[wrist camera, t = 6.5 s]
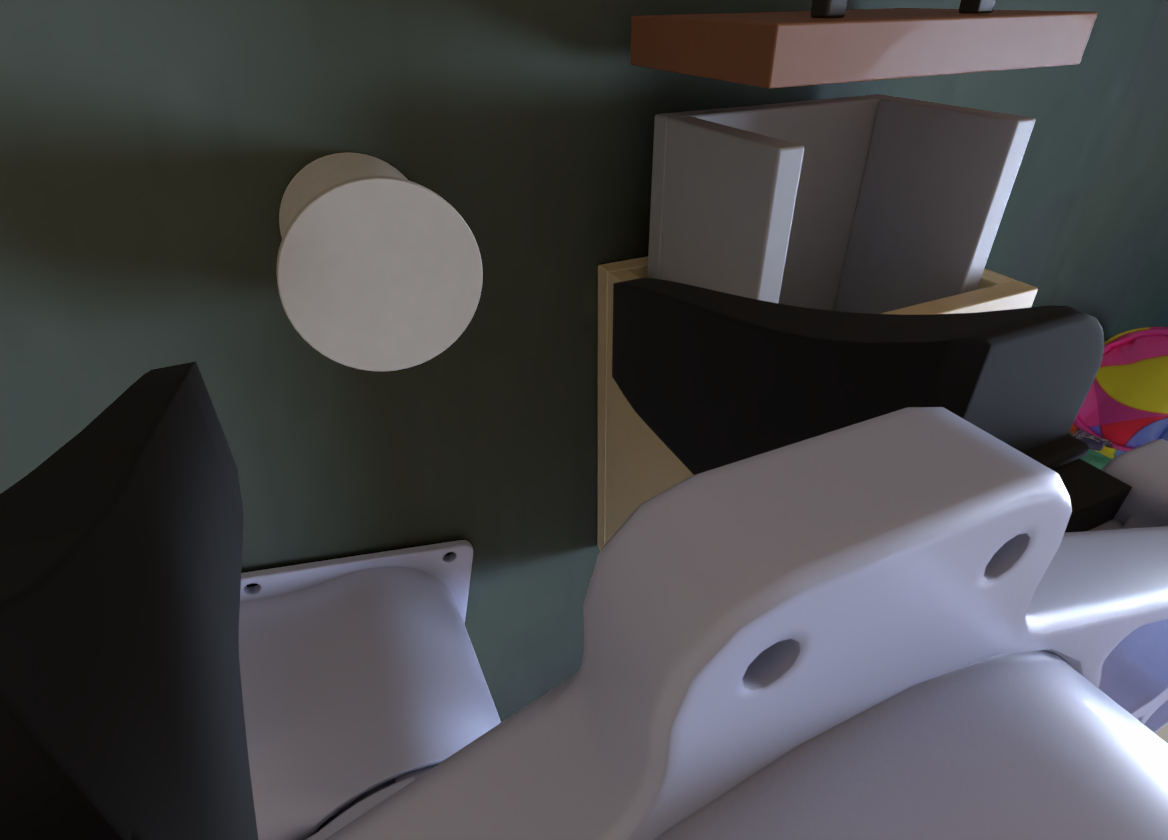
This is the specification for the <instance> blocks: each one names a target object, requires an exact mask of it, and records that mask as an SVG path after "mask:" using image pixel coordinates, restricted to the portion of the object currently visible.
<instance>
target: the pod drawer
mask: <svg viewBox="0 0 1168 840" xmlns="http://www.w3.org/2000/svg"><path fill="white" fill-rule="evenodd" d="M995 1H996V0H961V3H960V7H959V9H923V8H894V9H859V10H846V8H847V3H848V0H813V1H812V8H811V11H788V12H753V13H717V14H682V15H646V16H633V17H632V22H631V61H630V63H631V65H635V66H641V67H647V68H653V69H659V70H664V71H670V72H676V73H682V74H688V75H693V76H699V77H705V78H711V79H717V80H722V81H728V82H734V83H740V84H746V85H751V86H757V87H763V88H782V87H795V86H807V85H820V84H833V83H846V82H858V81H871V80H884V79H896V78H909V77H922V76H935V75H947V74H960V73H973V72H985V71H998V70H1011V69H1024V68H1036V67H1049V66H1062V65H1074V64H1079V63H1080V60H1081V58H1082V55H1083V52H1084V49H1085V47H1086V44H1087V41H1088V39H1089V36H1090V33H1091V30H1092V28H1093V25H1094V22H1095V19H1096V17H1097V12H1078V11H1026V10H993V8H994V5H995ZM1034 123H1035V119H1034V118H1031V117H1025V116H1018V115H1012V114H1005V113H999V112H992V111H985V110H979V109H972V108H966V107H959V106H953V105H946V104H939V103H933V102H926V101H920V100H913V99H907V98H900V97H893V96H886V95H880V94H877V95H866V96H855V97H843V98H832V99H821V100H810V101H798V102H787V103H776V104H765V105H754V106H742V107H731V108H720V109H709V110H697V111H686V112H675V113H664V114H657V115H655V122H654V144H653V166H652V187H651V209H650V231H649V253H648V274H647V278H653V279H661V280H667V281H673V282H678V283H683V284H688V285H692V286H697V287H702V288H706V289H710V290H715V291H719V292H724V293H728V294H733V295H737V296H742V297H747V298H752V299H757V300H762V301H768V302H773V303H779V304H784V305H790V306H797V307H804V308H812V309H821V310H830V311H840V312H852V313H870V314H880V313H885V312H889V311H893V310H897V309H901V308H905V307H909V306H913V305H917V304H921V303H925V302H929V301H934V300H938V299H942V298H946V297H950V296H954V295H958V294H962V293H966V292H970V291H974V290H977V287H978V285H979V282H980V279H981V276H982V273H983V270H984V267H985V264H986V262H987V259H988V256H989V253H990V250H991V247H992V244H993V241H994V238H995V236H996V233H997V230H998V227H999V224H1000V221H1001V218H1002V215H1003V212H1004V210H1005V207H1006V204H1007V201H1008V198H1009V195H1010V192H1011V189H1012V186H1013V184H1014V181H1015V178H1016V175H1017V172H1018V169H1019V166H1020V163H1021V161H1022V158H1023V155H1024V152H1025V149H1026V146H1027V143H1028V140H1029V137H1030V135H1031V132H1032V129H1033V126H1034Z"/></svg>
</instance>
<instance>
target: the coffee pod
mask: <svg viewBox="0 0 1168 840" xmlns="http://www.w3.org/2000/svg"><path fill="white" fill-rule="evenodd" d="M279 226H280V233H281V237H282V241H281V244H280V247H279V251H278V257H277V268H276V276H277V285H278V291H279V295H280V299H281V302H282V306H283V308H284V310H285V312H286V315H287V317H288V319H289V320H290V322H291V323H292V325H293V327H294V328H295V329H296V331H297V332H298V333H299V334H300V336H301V337H302V338H303V339H304V340H305V341H306V342H307V343H308V344H309V345H310V346H311V347H313V348H314V349H315V350H317V351H318V352H320V353H321V354H322V355H324V356H326V357H328V358H329V359H331V360H333V361H335V362H338V363H340V364H343V365H345V366H348V367H352V368H356V369H360V370H367V371H395V370H401V369H406V368H410V367H413V366H416V365H419V364H421V363H424V362H426V361H428V360H430V359H432V358H434V357H435V356H437V355H439V354H440V353H442V352H443V351H444V350H446V349H447V348H448V347H450V346H451V345H452V344H453V343H454V342H455V341H456V340H457V339H458V338H459V337H460V335H461V334H462V333H463V332H464V330H465V329H466V328H467V326H468V324H469V323H470V321H471V320H472V318H473V315H474V313H475V311H476V309H477V306H478V303H479V299H480V296H481V290H482V282H483V269H482V260H481V255H480V251H479V248H478V245H477V242H476V240H475V237H474V235H473V233H472V231H471V230H470V228H469V226H468V225H467V223H466V222H465V220H464V219H463V218H462V216H461V215H460V214H459V213H458V212H457V211H456V210H455V209H454V208H453V207H452V206H451V205H450V204H449V203H448V202H447V201H446V200H444V199H443V198H442V197H441V196H439V195H438V194H436V193H435V192H433V191H431V190H430V189H428V188H426V187H424V186H422V185H420V184H417V183H415V182H412V181H409V180H408V179H407V178H406V177H405V176H404V175H403V174H402V173H400V172H399V171H398V170H397V169H396V168H394V167H393V166H391V165H390V164H388V163H386V162H384V161H382V160H380V159H378V158H376V157H372V156H369V155H366V154H360V153H349V152H346V153H336V154H331V155H327V156H324V157H321V158H319V159H316V160H315V161H313V162H311V163H309V164H308V165H306V166H305V167H304V168H302V169H301V170H300V171H299V172H298V173H297V174H296V175H295V176H294V178H293V179H292V180H291V182H290V183H289V184H288V186H287V188H286V190H285V192H284V195H283V198H282V201H281V205H280V211H279Z"/></svg>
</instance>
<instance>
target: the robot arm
mask: <svg viewBox="0 0 1168 840" xmlns="http://www.w3.org/2000/svg"><path fill="white" fill-rule="evenodd" d="M1103 352H1104V333H1103V329H1102V327H1101V325H1100V323H1099V321H1098V320H1097V318H1095V317H1093V316H1091V315H1088V314H1086V313H1083V312H1081V311H1078V310H1076V309H1074V308H1071V307H1068V306H1041V307H1031V308H1020V309H1010V310H999V311H989V312H977V313H956V314H925V315H899V314H870V313H852V312H840V311H830V310H821V309H812V308H804V307H797V306H790V305H784V304H779V303H773V302H768V301H762V300H757V299H752V298H747V297H742V296H737V295H733V294H728V293H724V292H719V291H715V290H710V289H706V288H702V287H697V286H692V285H688V284H683V283H678V282H673V281H667V280H661V279H653V278H639V279H633V280H628V281H623V282H617V283H613V342H612V377H613V379H614V380H615V382H616V384H617V385H618V387H619V388H620V390H621V392H622V393H623V395H624V396H625V398H626V399H627V401H628V402H629V403H630V405H631V406H632V408H633V409H634V411H635V412H636V413H637V414H638V415H639V417H640V418H641V419H642V420H643V421H644V422H645V423H646V424H647V425H648V427H649V428H650V429H651V430H652V431H653V432H654V433H655V434H656V435H657V436H658V437H659V439H660V440H661V441H662V442H663V443H664V444H665V445H666V446H667V447H668V448H669V449H670V450H671V451H672V452H673V453H674V454H675V456H676V457H677V458H678V459H679V460H680V461H681V462H682V463H683V464H684V465H685V466H686V467H687V468H688V469H689V470H690V472H691V473H692V474H693V475H694V476H691V477H689V478H687V479H685V480H684V481H682V482H680V483H678V484H676V485H674V486H673V487H671V488H669V489H667V490H665V491H664V492H662V493H660V494H658V495H656V496H655V497H653V498H651V499H649V500H647V501H645V502H644V503H642V504H640V506H639V507H638V508H637V509H636V510H635V511H634V512H633V514H632V515H631V516H630V517H629V518H628V519H627V520H626V522H625V523H624V524H623V525H622V526H621V527H620V528H619V530H618V531H617V532H616V533H615V534H614V535H613V536H612V538H611V539H610V540H609V541H608V542H607V543H606V544H605V546H604V547H603V548H602V550H601V551H600V553H599V555H598V558H597V561H596V564H595V568H594V571H593V574H592V577H591V581H590V584H589V587H588V591H587V594H586V597H585V600H584V604H583V615H584V653H583V659H582V665H581V668H580V669H579V671H578V672H577V673H575V674H574V675H572V676H571V677H569V678H568V679H566V680H565V681H563V682H562V683H560V684H559V685H557V686H555V687H554V688H552V689H551V690H549V691H548V692H546V693H545V694H543V695H542V696H540V697H539V698H537V699H536V700H534V701H533V702H531V703H530V704H528V705H527V706H525V707H524V708H522V709H521V710H519V711H518V712H516V713H515V714H513V715H512V716H510V717H509V718H507V719H506V720H504V721H503V722H501V720H500V718H499V715H498V712H497V710H496V707H495V704H494V702H493V699H492V696H491V694H490V691H489V688H488V686H487V683H486V680H485V678H484V675H483V673H482V670H481V667H480V665H479V662H478V659H477V657H476V654H475V651H474V649H473V646H472V643H471V641H470V638H469V635H468V633H467V630H466V627H465V625H464V624H465V616H466V608H467V600H468V592H469V585H470V577H471V569H472V561H473V553H474V552H473V548H472V545H471V544H470V542H468V541H466V540H458V541H451V542H445V543H438V544H431V545H425V546H418V547H411V548H405V549H398V550H391V551H385V552H378V553H371V554H365V555H358V556H351V557H345V558H338V559H331V560H325V561H318V562H311V563H305V564H298V565H291V566H284V567H278V568H271V569H264V570H258V571H251V572H244V573H241V567H242V543H243V509H242V500H241V492H240V484H239V477H238V469H237V465H236V463H235V460H234V458H233V455H232V453H231V450H230V448H229V445H228V442H227V440H226V437H225V435H224V432H223V430H222V427H221V424H220V422H219V419H218V417H217V414H216V412H215V409H214V406H213V404H212V401H211V399H210V396H209V394H208V391H207V389H206V386H205V383H204V381H203V378H202V376H201V373H200V371H199V368H198V365H197V363H196V362H191V363H186V364H181V365H175V366H170V367H165V368H159V369H154V370H150V371H149V372H147V373H146V374H144V375H143V376H142V377H141V378H139V379H138V380H137V381H136V382H135V383H134V384H133V385H131V386H130V387H129V388H128V389H127V390H126V391H125V392H124V393H123V394H122V395H121V396H119V397H118V398H117V399H116V400H115V401H114V402H113V403H112V404H111V405H110V406H109V407H108V408H106V409H105V410H104V411H103V412H102V413H101V414H100V415H99V416H98V417H97V418H95V419H94V420H93V421H92V422H91V423H90V424H89V425H88V426H87V427H86V428H84V429H83V430H82V431H81V432H80V433H79V434H77V435H76V436H75V437H74V438H73V439H71V440H70V441H69V442H68V443H66V444H65V445H64V446H63V447H62V448H60V449H59V450H58V451H57V452H55V453H54V454H53V455H52V456H51V457H49V458H48V459H47V460H46V461H44V462H43V463H42V464H41V465H40V466H38V467H37V468H36V469H35V470H33V471H32V472H31V473H29V474H28V475H27V476H25V477H24V478H23V479H21V480H20V481H18V482H17V483H16V484H14V485H13V486H11V487H10V488H9V489H7V490H6V491H4V492H3V493H1V494H0V840H1168V743H1166V742H1165V741H1164V740H1163V739H1161V738H1160V737H1159V736H1158V735H1156V734H1155V733H1157V732H1158V731H1159V730H1161V729H1162V728H1163V727H1165V726H1166V725H1167V724H1168V441H1166V440H1164V439H1158V440H1154V441H1151V442H1149V443H1147V444H1144V445H1142V446H1139V447H1137V448H1135V449H1132V450H1130V451H1127V452H1125V453H1123V454H1120V455H1118V456H1116V457H1115V458H1113V459H1112V460H1110V461H1109V462H1108V463H1107V464H1106V465H1105V466H1104V467H1103V468H1102V470H1100V469H1098V468H1097V467H1095V466H1093V465H1091V464H1089V463H1087V462H1085V461H1084V460H1082V459H1080V458H1082V457H1084V456H1086V454H1087V452H1088V450H1089V448H1088V445H1087V443H1085V442H1083V441H1081V440H1079V439H1077V438H1075V437H1073V436H1071V435H1070V434H1068V433H1069V431H1070V429H1071V427H1072V425H1073V423H1074V421H1075V419H1076V416H1077V414H1078V412H1079V410H1080V408H1081V406H1082V404H1083V402H1084V400H1085V398H1086V396H1087V394H1088V392H1089V390H1090V388H1091V386H1092V384H1093V382H1094V380H1095V377H1096V375H1097V372H1098V370H1099V367H1100V365H1101V361H1102V357H1103ZM449 552H452V553H451V554H450V555H448V556H444V555H445V554H447V553H449ZM251 583H256V584H258V585H256V586H254V587H248V586H247V585H248V584H251Z"/></svg>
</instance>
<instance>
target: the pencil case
mask: <svg viewBox="0 0 1168 840" xmlns="http://www.w3.org/2000/svg"><path fill="white" fill-rule="evenodd" d="M1069 434H1070V435H1071V436H1073V437H1075V438H1077V439H1079V440H1081V441H1083V442H1085V443H1087V445H1088V448H1089V450H1088V452H1087V454H1086V456H1084V457H1082V458H1080V459H1082V460H1084V461H1085V462H1087V463H1089V464H1091V465H1093V466H1095V467H1097V468H1098V469H1100V470H1102V468H1103V467H1104V466H1105V465H1106V464H1107V463H1108V462H1109V461H1110V460H1112V459H1113V458H1115V457H1116V456H1118V455H1120V454H1123V453H1125V452H1127V451H1130V450H1132V449H1135V448H1137V447H1139V446H1142V445H1144V444H1147V443H1149V442H1151V441H1154V440H1158V439H1164V440H1166V441H1168V327H1147V328H1139V329H1133V330H1129V331H1126V332H1123V333H1120V334H1118V335H1116V336H1114V337H1112V338H1110V339H1109V340H1107V341H1105V342H1104V352H1103V357H1102V361H1101V365H1100V367H1099V370H1098V372H1097V375H1096V377H1095V380H1094V382H1093V384H1092V386H1091V388H1090V390H1089V392H1088V394H1087V396H1086V398H1085V400H1084V402H1083V404H1082V406H1081V408H1080V410H1079V412H1078V414H1077V416H1076V419H1075V421H1074V423H1073V425H1072V427H1071V429H1070V431H1069Z"/></svg>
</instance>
